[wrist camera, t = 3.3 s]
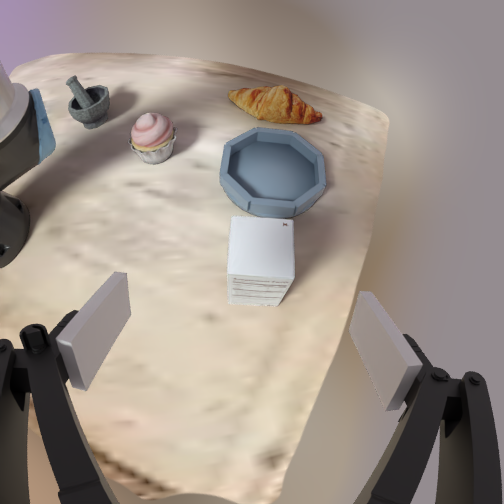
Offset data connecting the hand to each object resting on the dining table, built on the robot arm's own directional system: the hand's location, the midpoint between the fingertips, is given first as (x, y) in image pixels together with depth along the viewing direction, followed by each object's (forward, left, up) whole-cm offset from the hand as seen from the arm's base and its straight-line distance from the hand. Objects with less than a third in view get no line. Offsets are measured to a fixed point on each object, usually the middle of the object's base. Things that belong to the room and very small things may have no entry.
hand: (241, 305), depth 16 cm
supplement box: (+2, +10, -26) cm, 28 cm away
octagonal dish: (+4, +30, -26) cm, 40 cm away
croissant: (+4, +49, -26) cm, 56 cm away
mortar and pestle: (-37, +45, -26) cm, 64 cm away
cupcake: (-18, +34, -26) cm, 47 cm away
